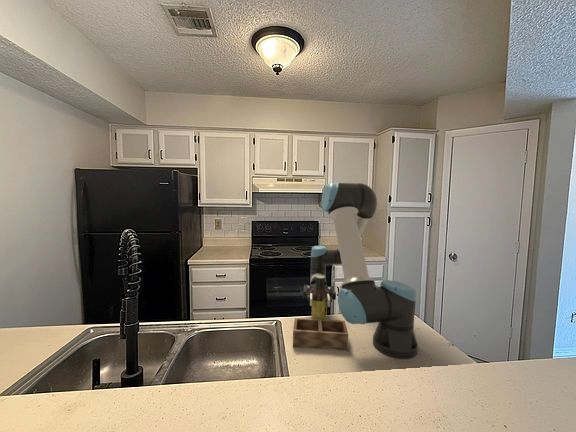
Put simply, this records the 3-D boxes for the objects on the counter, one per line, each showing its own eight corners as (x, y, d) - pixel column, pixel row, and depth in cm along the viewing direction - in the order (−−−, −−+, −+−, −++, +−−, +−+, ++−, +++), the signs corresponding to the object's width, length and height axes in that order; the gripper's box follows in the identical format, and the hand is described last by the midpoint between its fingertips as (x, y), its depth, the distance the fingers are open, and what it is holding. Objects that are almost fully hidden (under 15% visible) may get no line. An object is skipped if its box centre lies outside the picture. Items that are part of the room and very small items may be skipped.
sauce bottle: (327, 328, 110) (329, 279, 107) (311, 327, 110) (313, 279, 107) (325, 320, 116) (326, 274, 114) (310, 320, 116) (311, 274, 114)
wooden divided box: (344, 335, 106) (344, 320, 106) (347, 350, 96) (348, 334, 96) (294, 332, 108) (294, 317, 107) (292, 347, 98) (293, 330, 97)
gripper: (338, 292, 129) (344, 313, 106) (297, 290, 131) (295, 310, 108) (339, 276, 129) (345, 294, 106) (298, 274, 130) (295, 292, 107)
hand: (320, 302), depth 107 cm, fingers closed on sauce bottle, 6 cm apart
